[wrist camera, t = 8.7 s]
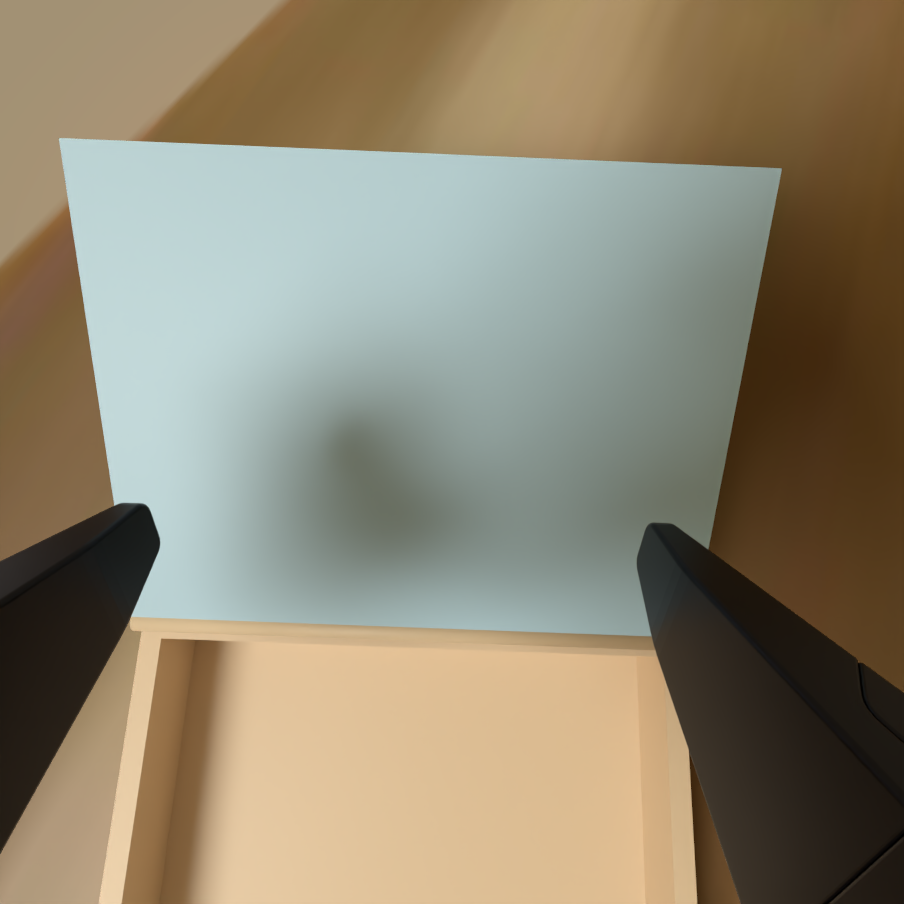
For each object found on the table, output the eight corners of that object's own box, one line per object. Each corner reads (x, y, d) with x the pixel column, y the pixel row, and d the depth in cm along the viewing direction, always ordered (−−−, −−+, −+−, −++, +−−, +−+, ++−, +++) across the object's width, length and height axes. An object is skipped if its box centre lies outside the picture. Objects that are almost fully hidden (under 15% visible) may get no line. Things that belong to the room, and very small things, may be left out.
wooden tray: (669, 1092, 15) (713, 1197, 12) (120, 1074, 15) (55, 1176, 12) (649, 626, 18) (682, 636, 15) (186, 608, 18) (143, 616, 15)
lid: (784, 167, 11) (768, 173, 11) (55, 136, 11) (75, 145, 11) (689, 656, 14) (680, 642, 15) (131, 635, 14) (144, 622, 15)
